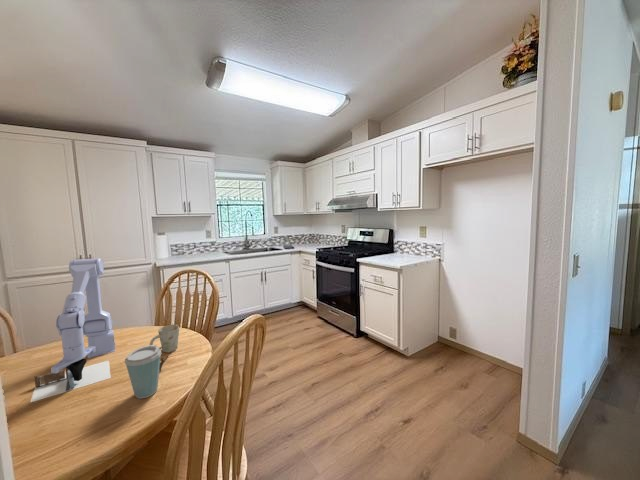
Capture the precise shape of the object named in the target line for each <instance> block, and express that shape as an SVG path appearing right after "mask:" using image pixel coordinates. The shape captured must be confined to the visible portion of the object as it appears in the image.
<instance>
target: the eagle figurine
mask: <svg viewBox="0 0 640 480" xmlns="http://www.w3.org/2000/svg"><path fill="white" fill-rule="evenodd" d="M168 358H169V355H168V356H166V358H165V359H164V358H161V359H160V368H159V372H161V370H162V367H163V365H164V363H165V362H166V361H167V360H168Z"/></svg>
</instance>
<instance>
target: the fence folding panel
mask: <svg viewBox="0 0 640 480" xmlns="http://www.w3.org/2000/svg"><path fill="white" fill-rule="evenodd" d="M68 381H69V385H70V389H73V388H74V387H75V386H74V377H73V375H72V373H71V372H70V370H68ZM73 390H74V389H73Z"/></svg>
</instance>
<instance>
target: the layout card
mask: <svg viewBox="0 0 640 480" xmlns="http://www.w3.org/2000/svg"><path fill="white" fill-rule="evenodd" d="M64 372H65V378H64V379H60V381H59V382H57V381H53V382H49V384H48V385H45V384H42V385H40V387H38V388H36V387H34V390H33V392H32V395H31V399H30V404H31V403H33V402H37V401H40V400H42V399H46V398H49V397H54V396H57V395H60V394H62V393H63V394H64V393H66V392H69V391H72V390H76V389H79V388H83V387H86V386H89V385H92V384H96V383H99V382H102V381H106V380H109V379H111V377H112V376H111V367H110V360H105V361H102V362H97V363H95V364H91V365H87V366H84V367H83V370H82V379H81V380H79V381H74V386H75V387H74V388H73V389H70V385H69V381H68V379H67V378H66V371H64Z"/></svg>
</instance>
